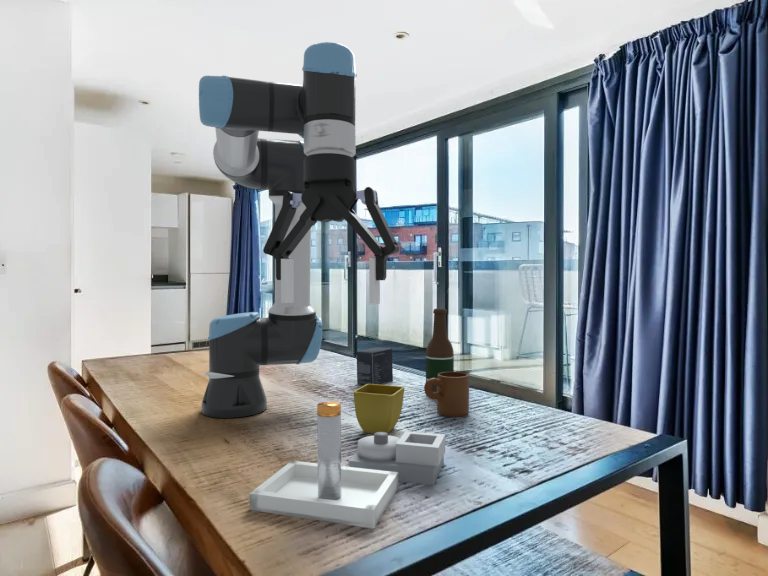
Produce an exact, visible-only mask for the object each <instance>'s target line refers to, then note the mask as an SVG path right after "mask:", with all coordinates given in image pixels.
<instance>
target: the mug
mask: <svg viewBox="0 0 768 576" xmlns="http://www.w3.org/2000/svg"><path fill="white" fill-rule="evenodd" d="M469 377H470V376H469V373H466V372H463V371H462V372H460V371H454V372H442V373H438V376H437V378H430V379H428V380H427V381H426V380H425V383H424V386H423V388H424V390H423V391H424V393H425V395H426V397H428V398H429V399H430V400H436V411H437V413H438V414H439V415H440V416H443V417H448V418H460V417H461V418H462V417H465V416H467V415H468V414H469V412H470V410H469V409H470V401H469V400H470V379H469ZM432 384H434V385H436V386H437V392H432V390H431V385H432Z"/></svg>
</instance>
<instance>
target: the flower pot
mask: <svg viewBox="0 0 768 576" xmlns="http://www.w3.org/2000/svg"><path fill="white" fill-rule="evenodd" d="M405 389H406V388H405V386H401V385H399V386H398V385H388V384H380V385H379V384H366V385H361V387H359V388H357V389H355V390H354V391H353V392H352V393H353V402H354V411H355V417H356V420H357V423H358V425H359V426H360V428H361V429H362V431H363V432H364V433H369V434H374V433H377V432H385V433H388V434H389V433H390V432H391V431H393V429H395V427H396V425H397V424H398V422H399V418H400V416H401V413H402V409H403V403H404V394H405Z"/></svg>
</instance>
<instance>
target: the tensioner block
mask: <svg viewBox="0 0 768 576" xmlns="http://www.w3.org/2000/svg"><path fill="white" fill-rule="evenodd" d="M445 454H446V434H445V433H443V434H442V433H431V432H421V431H408V430H405V431H404V432H403V434H402V435H401V436H400V437H399V436H395V435H394V436H393V435H389V433H385V432H377V433H373V435H368V436H364V437H361V438H360V439H359V440H357V452H355V454H354V455H353V456H352V457H351V458H350V459H349V460H348V467H355V468H364V469H373V470H382V471H392V472H398V482H403V483H411V484H419V485H428V486H434V485H435V484H436V483H435V482H436V481H437V479H438V477H439V474H440V472H441V469H442V468H443V466H444V463H445V462H444V461H445V459H444V457H445V456H444V455H445Z"/></svg>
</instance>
